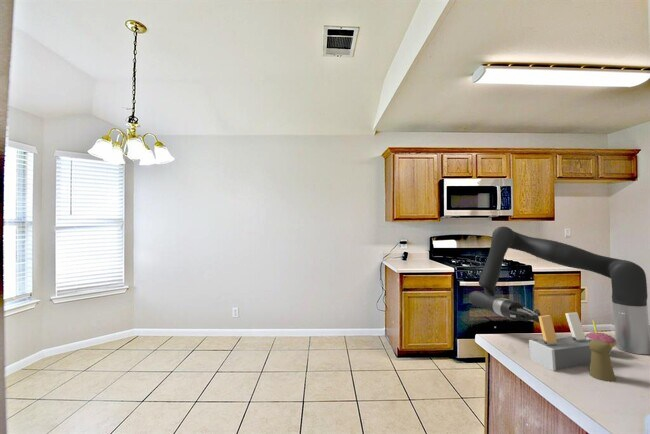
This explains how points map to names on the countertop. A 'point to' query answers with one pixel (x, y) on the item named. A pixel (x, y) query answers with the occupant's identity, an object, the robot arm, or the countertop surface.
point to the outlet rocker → (547, 329)
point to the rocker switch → (575, 326)
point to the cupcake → (602, 337)
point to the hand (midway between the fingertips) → (544, 320)
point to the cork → (601, 361)
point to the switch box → (561, 353)
